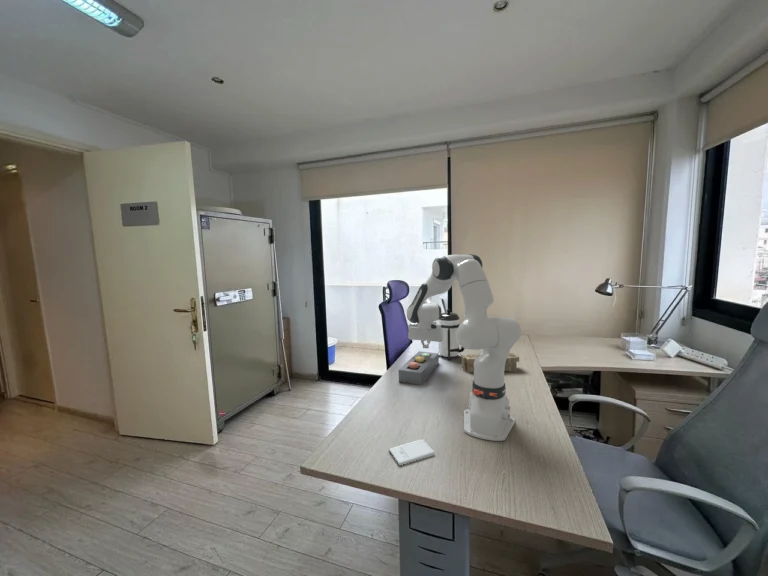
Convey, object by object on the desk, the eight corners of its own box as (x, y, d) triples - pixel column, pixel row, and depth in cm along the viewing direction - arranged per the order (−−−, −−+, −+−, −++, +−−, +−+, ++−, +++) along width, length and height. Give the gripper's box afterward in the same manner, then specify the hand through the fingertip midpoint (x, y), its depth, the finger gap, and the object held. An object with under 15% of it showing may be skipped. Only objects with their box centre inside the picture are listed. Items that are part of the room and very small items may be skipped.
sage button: (428, 359, 175) (428, 356, 175) (420, 358, 177) (420, 355, 177) (430, 357, 179) (430, 353, 179) (422, 356, 181) (422, 352, 181)
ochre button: (422, 362, 166) (422, 359, 165) (414, 361, 168) (414, 358, 168) (425, 360, 170) (425, 356, 170) (417, 359, 172) (417, 355, 172)
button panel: (421, 384, 153) (421, 372, 152) (398, 381, 158) (398, 369, 157) (438, 363, 181) (438, 353, 181) (419, 361, 186) (419, 351, 186)
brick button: (416, 369, 157) (416, 365, 156) (407, 368, 159) (407, 364, 159) (419, 366, 161) (419, 362, 161) (410, 365, 163) (410, 361, 163)
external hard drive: (434, 456, 99) (399, 467, 94) (421, 442, 106) (388, 452, 102) (434, 451, 99) (399, 462, 94) (421, 438, 106) (388, 447, 101)
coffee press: (435, 360, 187) (434, 311, 184) (438, 352, 202) (437, 306, 199) (464, 362, 182) (464, 311, 179) (466, 353, 197) (465, 307, 194)
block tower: (465, 374, 166) (520, 371, 165) (464, 359, 165) (519, 356, 164) (461, 369, 174) (514, 366, 173) (461, 354, 173) (513, 351, 172)
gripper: (406, 324, 177) (406, 347, 179) (441, 326, 169) (441, 351, 170) (409, 322, 183) (410, 345, 184) (444, 324, 174) (444, 348, 175)
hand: (425, 348), depth 177 cm, fingers closed
